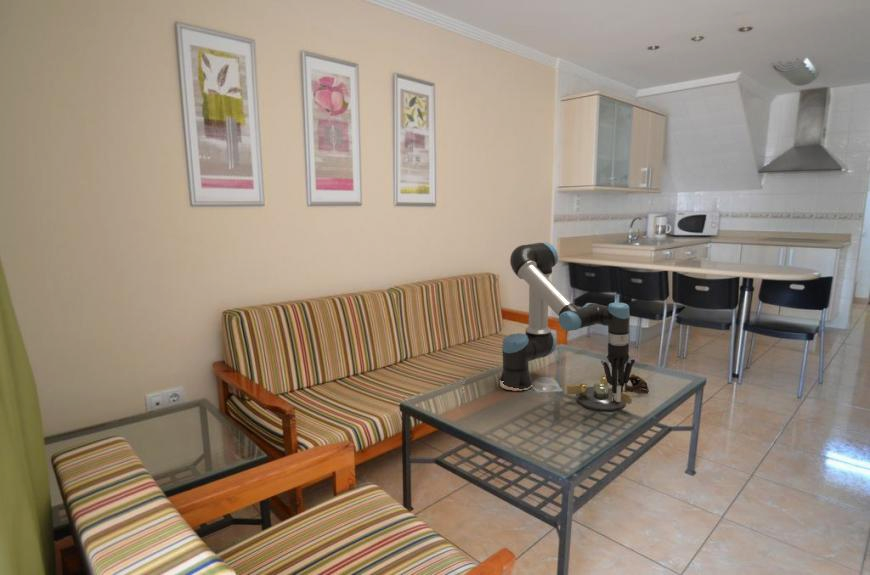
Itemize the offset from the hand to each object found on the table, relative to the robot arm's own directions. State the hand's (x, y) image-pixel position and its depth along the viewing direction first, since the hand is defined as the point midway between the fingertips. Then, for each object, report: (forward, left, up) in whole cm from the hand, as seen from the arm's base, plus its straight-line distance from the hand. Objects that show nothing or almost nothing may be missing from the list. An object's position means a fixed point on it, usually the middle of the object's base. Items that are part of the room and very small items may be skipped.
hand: (617, 400), depth 187 cm
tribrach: (-8, +9, -6) cm, 13 cm away
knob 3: (+1, +4, -3) cm, 5 cm away
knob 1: (-16, +4, -3) cm, 17 cm away
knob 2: (-8, +20, -3) cm, 21 cm away
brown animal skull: (+4, +25, -6) cm, 26 cm away
